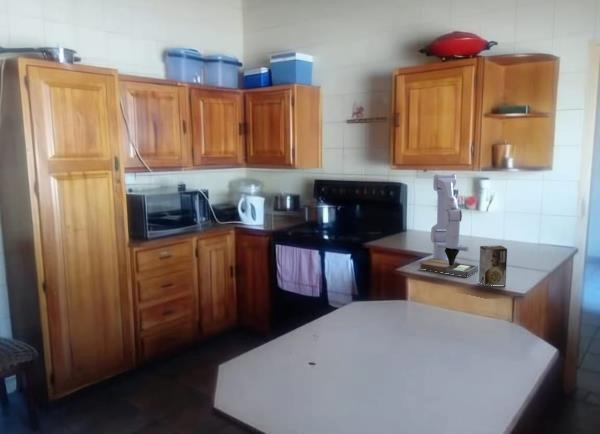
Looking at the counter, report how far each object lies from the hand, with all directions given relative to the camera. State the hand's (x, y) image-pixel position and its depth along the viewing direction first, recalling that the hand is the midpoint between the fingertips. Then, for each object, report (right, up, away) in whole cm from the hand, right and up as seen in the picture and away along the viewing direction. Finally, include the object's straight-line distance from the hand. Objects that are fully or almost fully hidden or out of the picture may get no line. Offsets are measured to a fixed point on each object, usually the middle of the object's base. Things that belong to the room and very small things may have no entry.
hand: (451, 264), depth 218 cm
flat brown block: (-4, -3, +8) cm, 9 cm away
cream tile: (+6, -1, +2) cm, 7 cm away
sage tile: (+3, -2, -2) cm, 4 cm away
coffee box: (+11, -7, -18) cm, 22 cm away
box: (+5, -4, +1) cm, 6 cm away
